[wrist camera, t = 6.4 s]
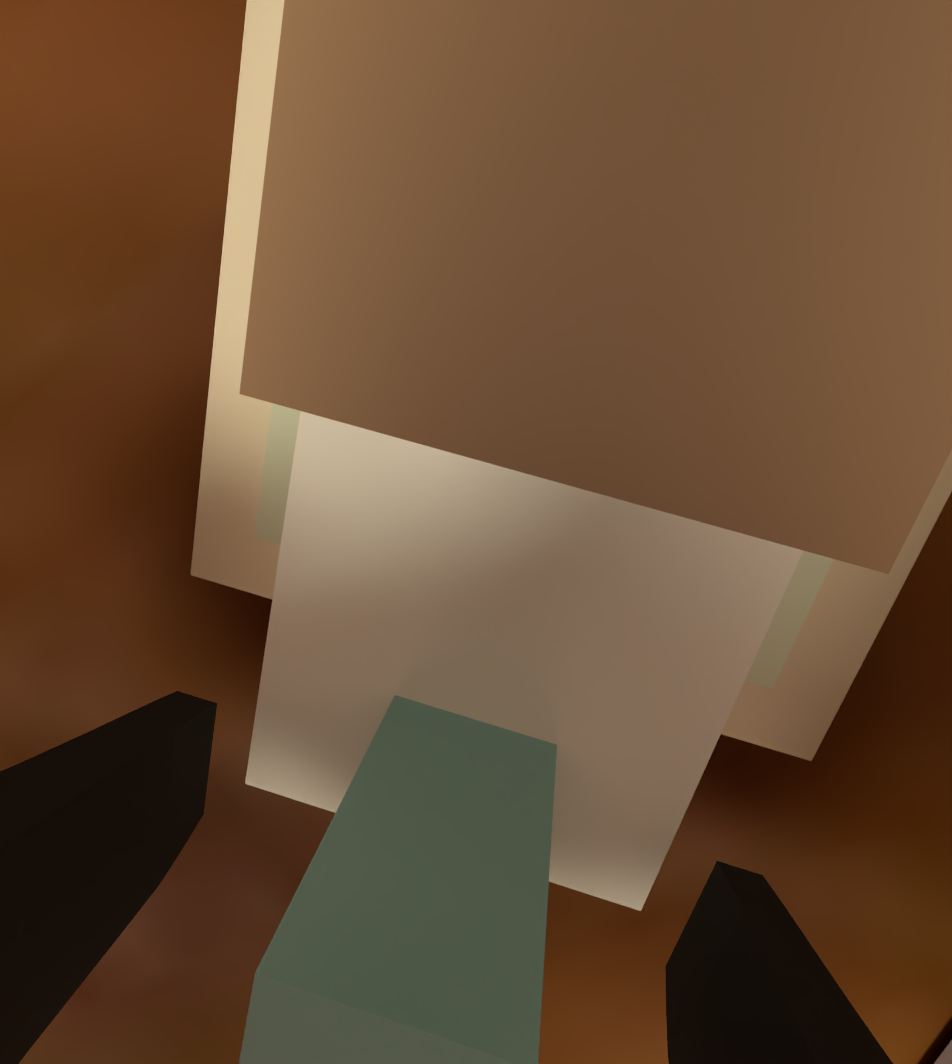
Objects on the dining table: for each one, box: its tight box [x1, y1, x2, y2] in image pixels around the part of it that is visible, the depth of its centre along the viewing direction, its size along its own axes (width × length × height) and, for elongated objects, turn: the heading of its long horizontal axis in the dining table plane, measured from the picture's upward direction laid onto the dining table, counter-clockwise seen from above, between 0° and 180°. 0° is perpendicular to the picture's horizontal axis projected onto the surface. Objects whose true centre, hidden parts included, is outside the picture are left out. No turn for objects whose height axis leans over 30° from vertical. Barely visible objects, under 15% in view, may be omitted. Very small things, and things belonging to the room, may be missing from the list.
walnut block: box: [239, 0, 952, 574], centre depth 5 cm, size 4×4×4 cm
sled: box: [239, 411, 803, 1064], centre depth 6 cm, size 6×14×5 cm, turn 166°
